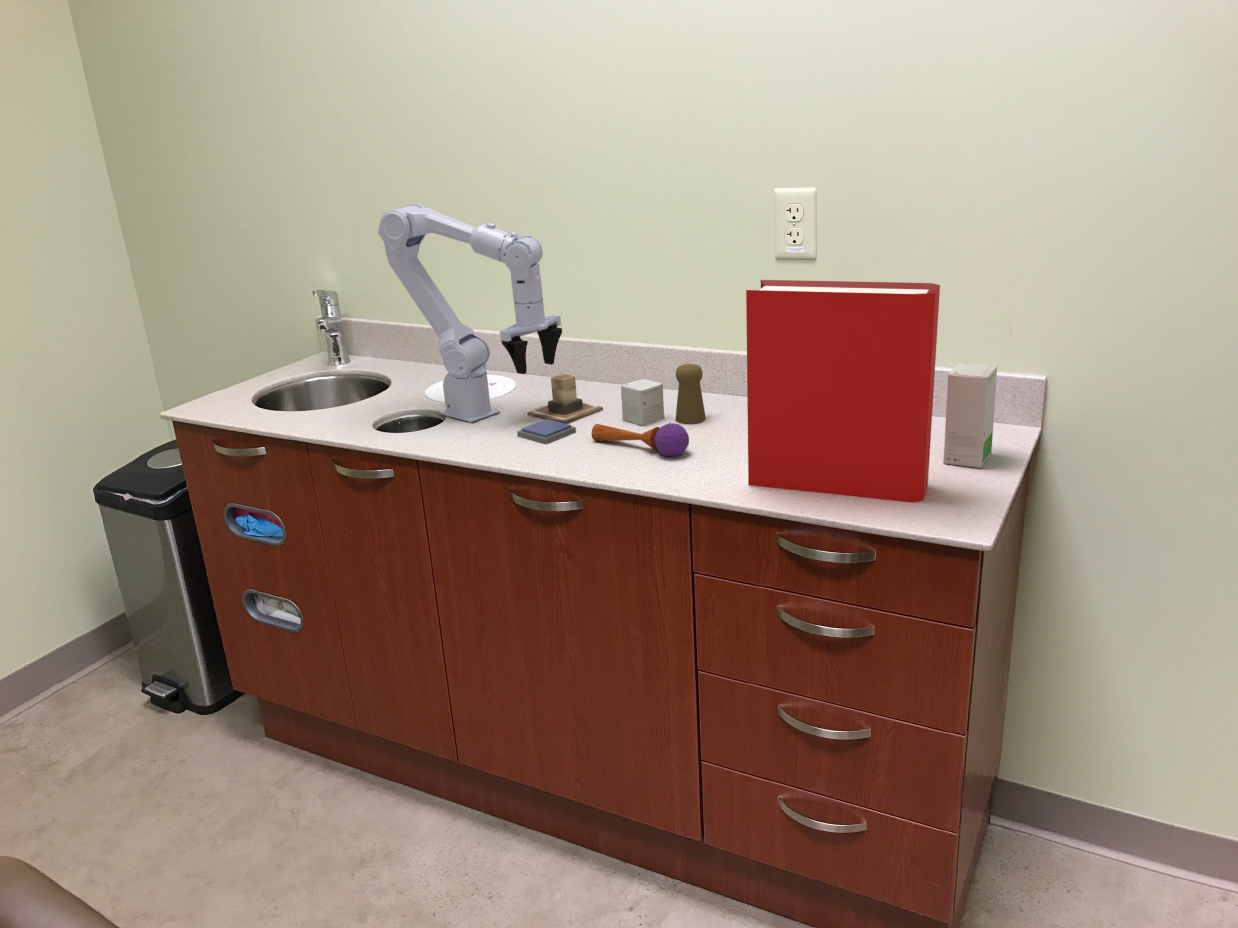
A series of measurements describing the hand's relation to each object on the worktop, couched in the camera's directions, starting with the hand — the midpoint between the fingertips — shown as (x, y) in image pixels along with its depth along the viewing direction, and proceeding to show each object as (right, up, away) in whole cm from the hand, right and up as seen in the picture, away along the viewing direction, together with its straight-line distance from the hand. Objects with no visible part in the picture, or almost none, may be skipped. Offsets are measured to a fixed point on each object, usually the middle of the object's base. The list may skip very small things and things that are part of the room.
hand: (535, 368), depth 193 cm
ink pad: (+3, -13, -6) cm, 15 cm away
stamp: (+6, -8, +6) cm, 11 cm away
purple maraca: (+21, -17, -16) cm, 31 cm away
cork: (+31, -11, -3) cm, 33 cm away
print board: (+6, -9, +6) cm, 12 cm away
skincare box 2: (+75, -18, -30) cm, 83 cm away
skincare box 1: (+21, -10, -1) cm, 24 cm away
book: (+52, -23, -37) cm, 68 cm away
